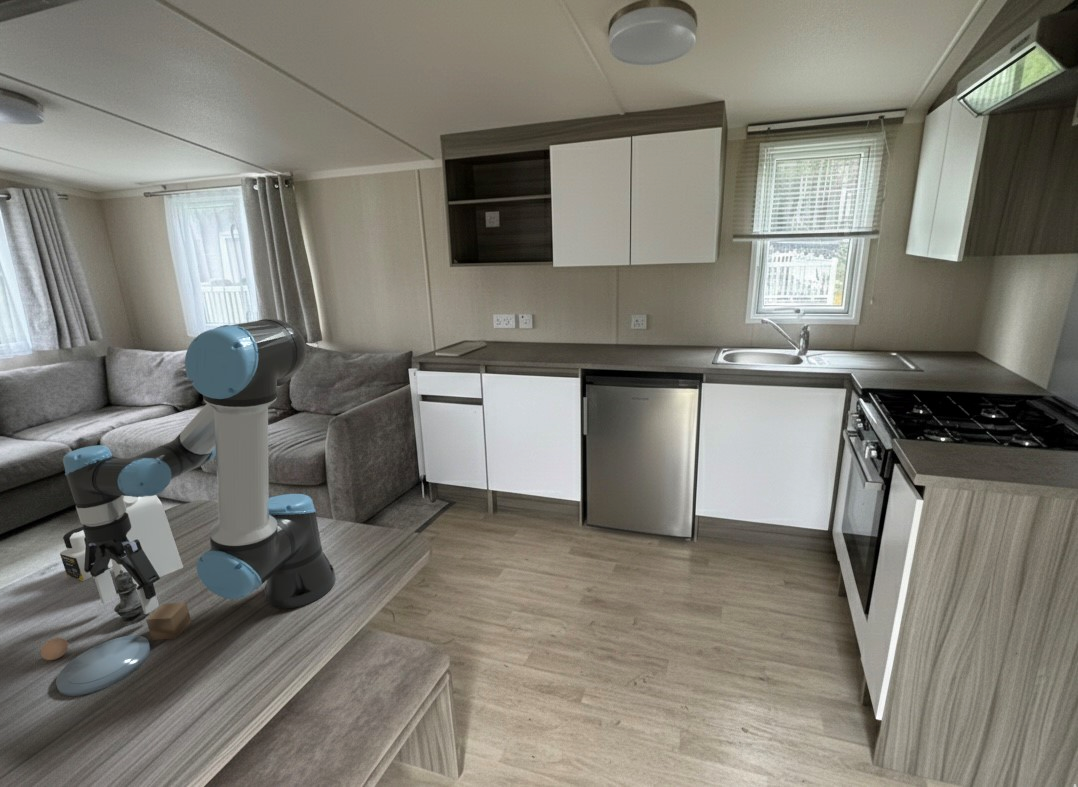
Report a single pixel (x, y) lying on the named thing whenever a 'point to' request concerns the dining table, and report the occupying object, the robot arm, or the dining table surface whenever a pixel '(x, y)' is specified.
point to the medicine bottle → (76, 555)
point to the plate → (103, 665)
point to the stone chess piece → (128, 600)
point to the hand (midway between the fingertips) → (130, 604)
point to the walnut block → (168, 621)
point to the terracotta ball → (54, 648)
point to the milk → (151, 534)
